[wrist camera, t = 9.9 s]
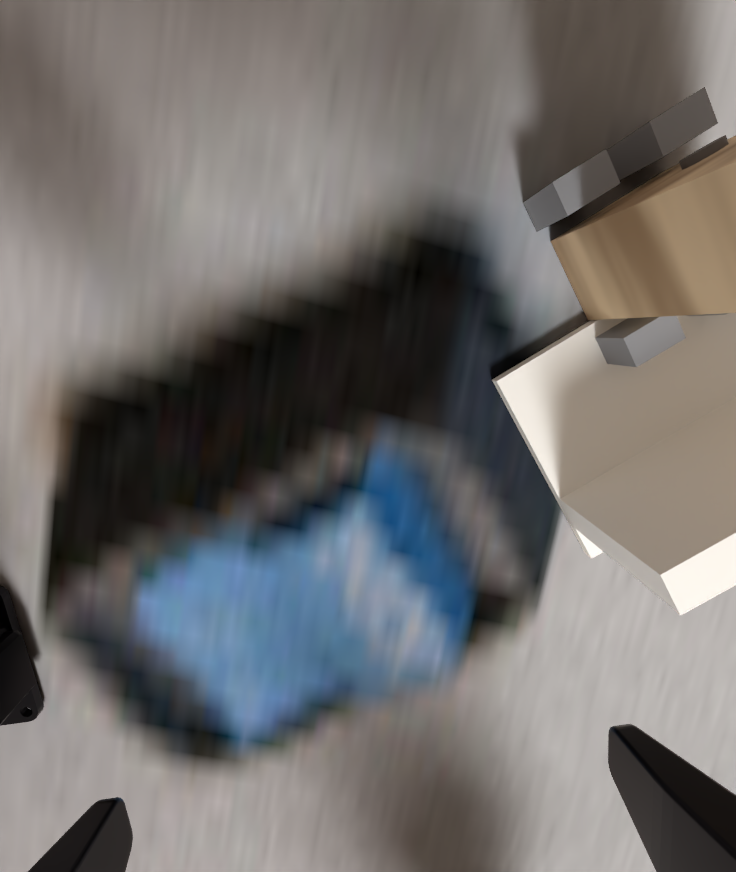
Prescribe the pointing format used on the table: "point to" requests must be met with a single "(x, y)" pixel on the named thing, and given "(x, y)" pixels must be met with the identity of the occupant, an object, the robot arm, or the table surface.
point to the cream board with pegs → (638, 408)
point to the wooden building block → (661, 244)
